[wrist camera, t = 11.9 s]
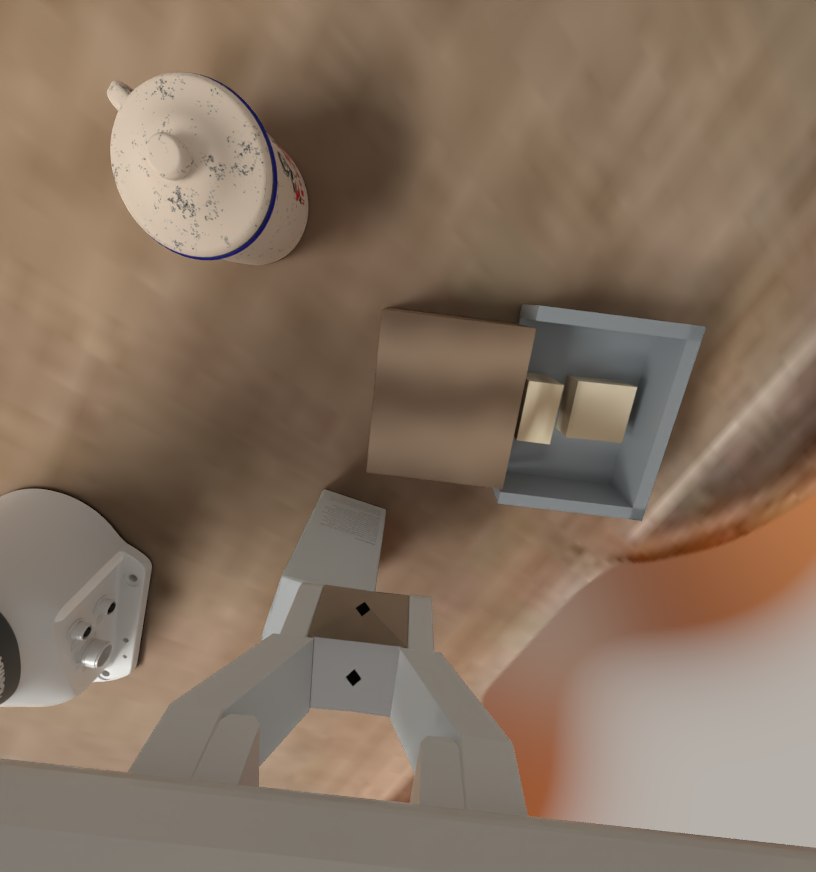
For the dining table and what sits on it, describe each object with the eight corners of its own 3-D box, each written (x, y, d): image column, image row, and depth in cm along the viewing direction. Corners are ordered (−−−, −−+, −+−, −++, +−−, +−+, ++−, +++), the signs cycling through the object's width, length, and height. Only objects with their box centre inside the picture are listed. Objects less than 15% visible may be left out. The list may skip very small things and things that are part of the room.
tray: (614, 492, 38) (641, 520, 33) (488, 477, 38) (497, 503, 33) (665, 322, 34) (706, 326, 29) (522, 304, 33) (539, 305, 29)
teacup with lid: (337, 199, 31) (293, 145, 20) (265, 294, 34) (189, 293, 23) (203, 66, 29) (71, -75, 18) (135, 178, 31) (-21, 114, 20)
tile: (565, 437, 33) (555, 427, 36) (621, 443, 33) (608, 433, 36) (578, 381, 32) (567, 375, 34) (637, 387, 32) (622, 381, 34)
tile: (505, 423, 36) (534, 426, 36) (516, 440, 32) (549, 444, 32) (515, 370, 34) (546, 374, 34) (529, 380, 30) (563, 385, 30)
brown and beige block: (491, 462, 38) (502, 488, 32) (373, 447, 37) (366, 472, 32) (518, 323, 34) (536, 328, 29) (387, 307, 34) (381, 309, 28)
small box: (362, 577, 42) (338, 695, 29) (300, 557, 41) (249, 669, 29) (389, 508, 39) (375, 605, 27) (323, 486, 39) (278, 574, 26)
